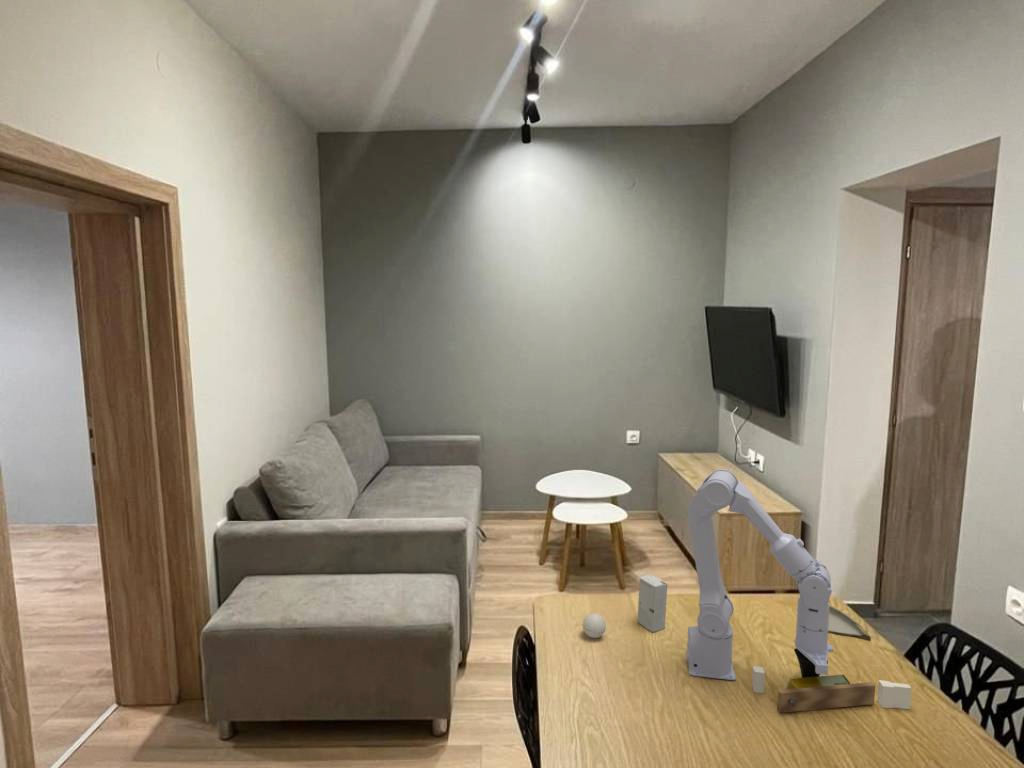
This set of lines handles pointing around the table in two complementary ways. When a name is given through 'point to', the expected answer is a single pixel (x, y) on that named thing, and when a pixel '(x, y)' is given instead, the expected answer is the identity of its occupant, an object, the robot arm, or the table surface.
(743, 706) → the table surface
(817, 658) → the robot arm
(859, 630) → the ceramic fragment
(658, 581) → the skincare box
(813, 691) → the brown wooden plank
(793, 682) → the medication box
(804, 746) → the table surface
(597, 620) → the white ball
